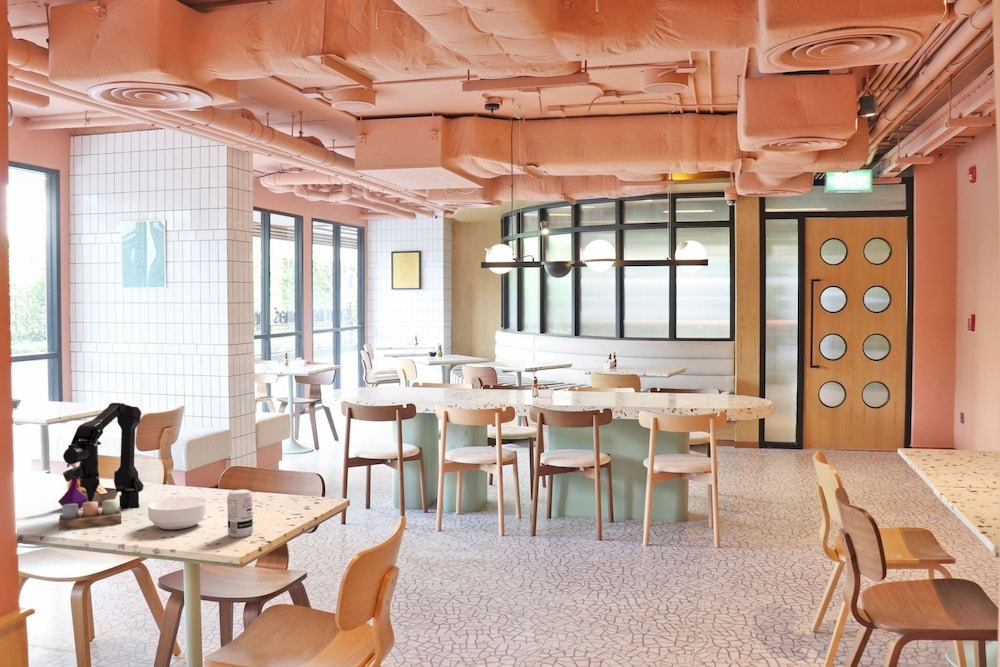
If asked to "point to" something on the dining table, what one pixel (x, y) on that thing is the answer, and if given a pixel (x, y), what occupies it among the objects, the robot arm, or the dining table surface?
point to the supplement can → (240, 513)
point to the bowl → (177, 512)
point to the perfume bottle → (73, 493)
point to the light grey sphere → (70, 511)
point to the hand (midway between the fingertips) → (90, 501)
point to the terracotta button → (90, 509)
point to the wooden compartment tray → (89, 521)
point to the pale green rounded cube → (110, 507)
